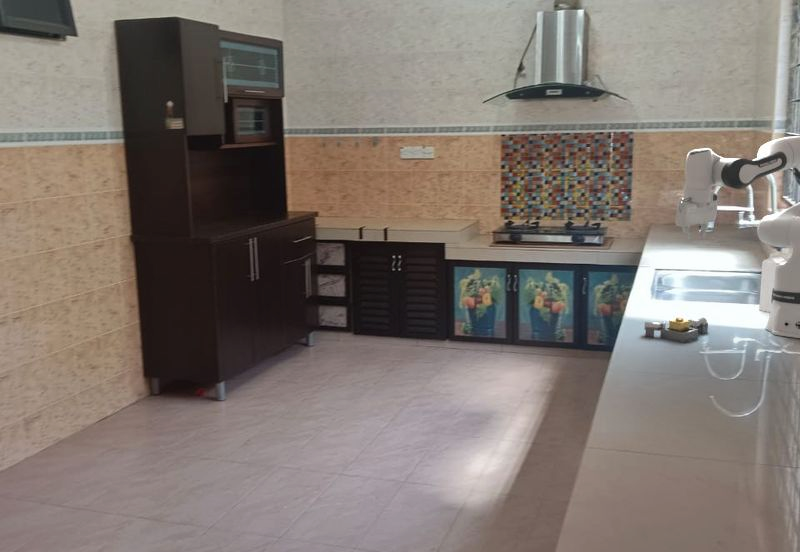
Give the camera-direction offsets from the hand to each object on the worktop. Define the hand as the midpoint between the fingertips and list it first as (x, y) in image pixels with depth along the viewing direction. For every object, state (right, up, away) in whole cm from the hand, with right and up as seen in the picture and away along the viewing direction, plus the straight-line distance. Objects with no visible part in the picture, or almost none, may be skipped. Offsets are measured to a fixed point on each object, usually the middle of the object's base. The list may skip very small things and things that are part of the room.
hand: (694, 237), depth 277 cm
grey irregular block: (-1, -32, -4) cm, 33 cm away
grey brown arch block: (-16, -33, -8) cm, 38 cm away
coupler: (-9, -33, -11) cm, 36 cm away
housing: (-9, -34, -11) cm, 37 cm away
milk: (+38, -27, +26) cm, 53 cm away
